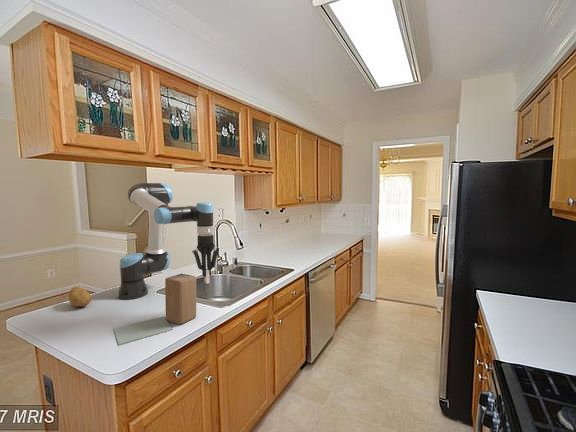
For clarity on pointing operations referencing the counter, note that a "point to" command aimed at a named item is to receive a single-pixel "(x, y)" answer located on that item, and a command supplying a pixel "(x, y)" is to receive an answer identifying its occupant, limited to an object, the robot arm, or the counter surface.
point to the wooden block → (180, 298)
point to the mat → (141, 330)
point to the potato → (79, 297)
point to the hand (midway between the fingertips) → (207, 282)
